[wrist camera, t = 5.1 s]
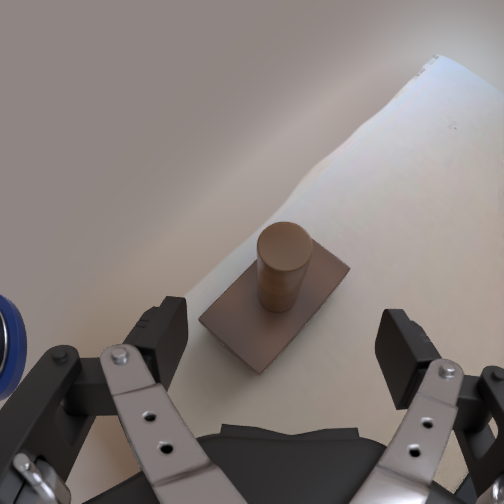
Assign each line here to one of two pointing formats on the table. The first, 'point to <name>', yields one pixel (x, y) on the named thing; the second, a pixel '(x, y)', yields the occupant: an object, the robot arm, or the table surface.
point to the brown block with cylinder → (274, 295)
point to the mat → (467, 491)
